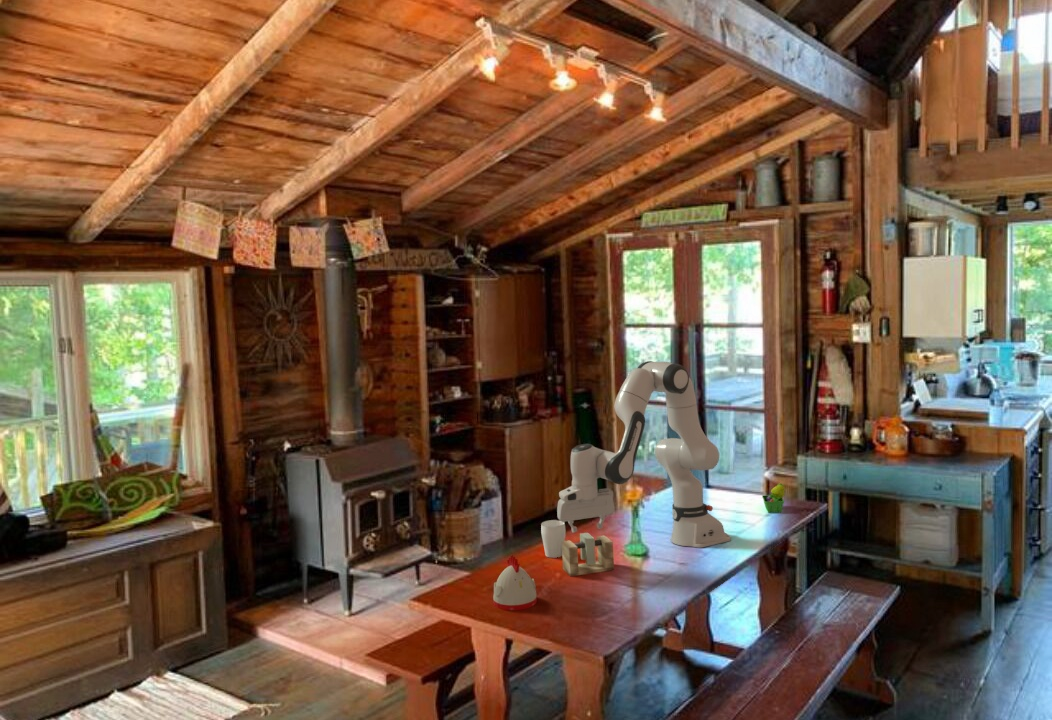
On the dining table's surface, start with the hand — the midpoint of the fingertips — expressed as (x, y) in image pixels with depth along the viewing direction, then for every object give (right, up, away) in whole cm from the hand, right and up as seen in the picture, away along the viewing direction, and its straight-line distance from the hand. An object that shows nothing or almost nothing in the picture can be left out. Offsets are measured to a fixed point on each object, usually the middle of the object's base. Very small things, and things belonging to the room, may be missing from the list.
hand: (587, 530), depth 298 cm
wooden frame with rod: (+1, -14, +1) cm, 14 cm away
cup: (-11, -13, +19) cm, 25 cm away
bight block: (0, -11, +1) cm, 11 cm away
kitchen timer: (-25, -18, -25) cm, 40 cm away
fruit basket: (+83, -4, +63) cm, 104 cm away
